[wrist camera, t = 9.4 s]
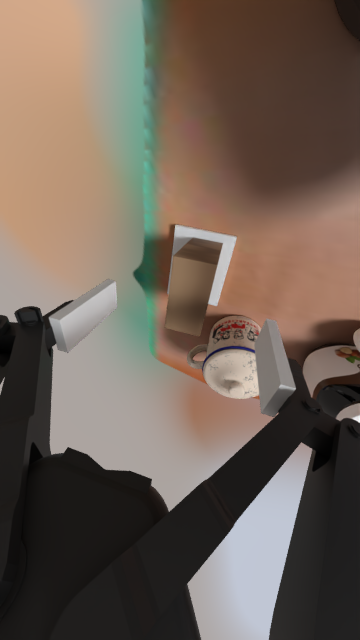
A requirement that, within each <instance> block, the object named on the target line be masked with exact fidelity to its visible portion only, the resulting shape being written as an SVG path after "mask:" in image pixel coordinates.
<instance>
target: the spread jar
mask: <svg viewBox="0 0 360 640" xmlns="http://www.w3.org/2000/svg"><path fill="white" fill-rule="evenodd" d="M353 340H354V343H355V345H352V344H346V343H333V344H327V345H324V346H321V347H319V348H316V349H315V350H313V351H312V352H311V353H309V355H308V356H307V358H306V360H305V362H304V365H303V375H304V379H305V381H306V384H307V386H308V389H309V392H310V395H311V397H312V398H313V399H315V400H316V401H317V402H318V403H319V404H320V405H321V407H322V408H323V411H324V412H325V413H326V414H328V415H330V416H332V417H334V418H335V419H337V420H339V421H341V420H342V419H343V418H351V419H353V420H356V421H358V422H359V423H360V328H359V329H358V330H356V331H355V333H354V335H353Z"/></svg>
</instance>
